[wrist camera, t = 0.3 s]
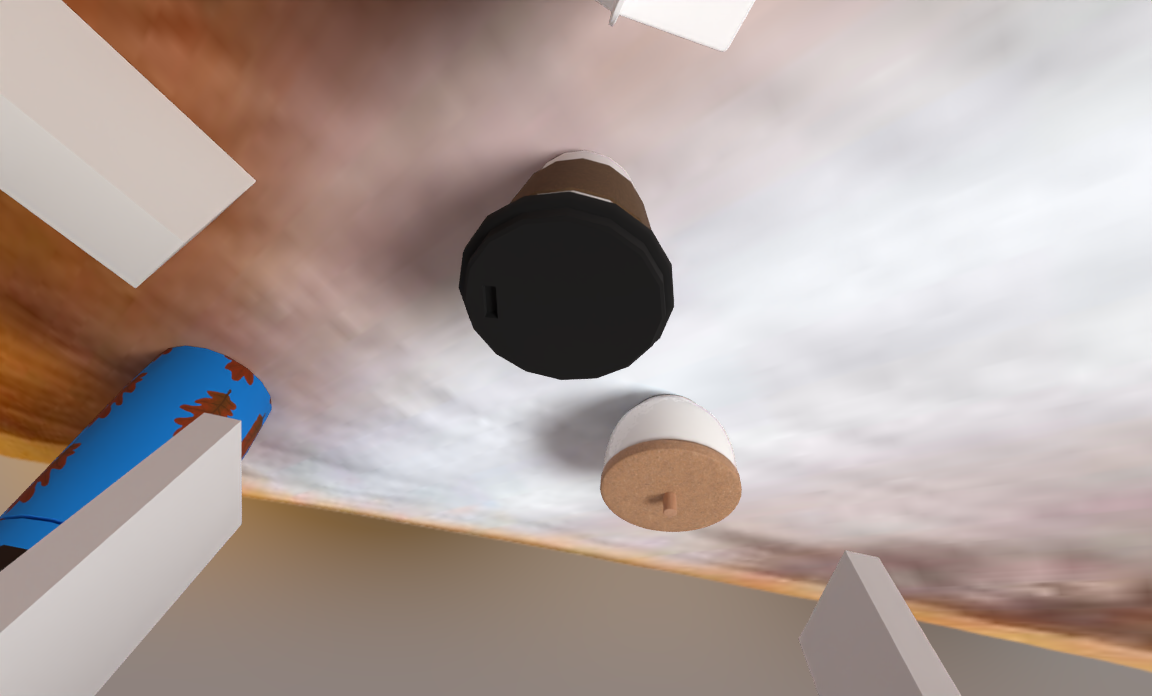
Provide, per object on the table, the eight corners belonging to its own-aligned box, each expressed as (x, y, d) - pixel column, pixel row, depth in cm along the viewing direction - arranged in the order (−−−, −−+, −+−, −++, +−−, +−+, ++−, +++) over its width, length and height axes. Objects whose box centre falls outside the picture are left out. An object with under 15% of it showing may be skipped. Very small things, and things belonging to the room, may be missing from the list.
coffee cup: (504, 260, 42) (463, 377, 33) (496, 103, 34) (440, 197, 25) (658, 274, 41) (659, 397, 32) (683, 117, 34) (693, 218, 25)
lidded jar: (582, 424, 52) (571, 516, 45) (657, 354, 46) (657, 447, 39) (677, 472, 55) (680, 565, 48) (758, 412, 49) (776, 509, 42)
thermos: (194, 326, 49) (-90, 628, 30) (297, 404, 54) (109, 702, 36) (131, 372, 54) (-148, 658, 35) (231, 439, 59) (35, 719, 40)
